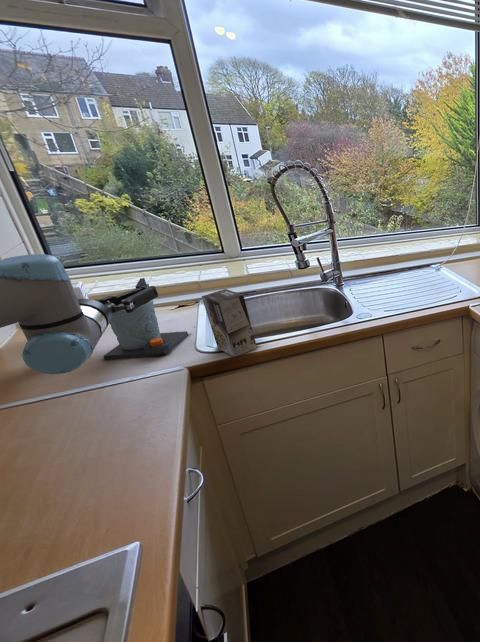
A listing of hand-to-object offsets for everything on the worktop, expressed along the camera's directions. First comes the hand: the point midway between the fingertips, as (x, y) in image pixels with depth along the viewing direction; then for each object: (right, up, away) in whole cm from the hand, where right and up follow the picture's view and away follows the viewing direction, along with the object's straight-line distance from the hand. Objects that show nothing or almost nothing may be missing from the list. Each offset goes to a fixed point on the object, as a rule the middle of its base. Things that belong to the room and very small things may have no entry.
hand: (106, 288), depth 95 cm
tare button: (0, -15, +14) cm, 21 cm away
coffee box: (+18, -16, +19) cm, 31 cm away
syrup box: (-33, -12, +27) cm, 44 cm away
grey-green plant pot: (-8, -15, +18) cm, 24 cm away
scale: (-6, -16, +18) cm, 25 cm away
